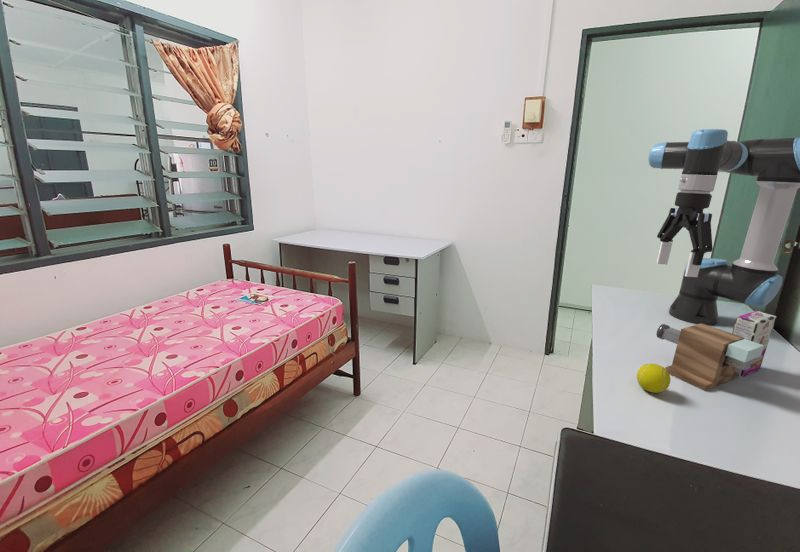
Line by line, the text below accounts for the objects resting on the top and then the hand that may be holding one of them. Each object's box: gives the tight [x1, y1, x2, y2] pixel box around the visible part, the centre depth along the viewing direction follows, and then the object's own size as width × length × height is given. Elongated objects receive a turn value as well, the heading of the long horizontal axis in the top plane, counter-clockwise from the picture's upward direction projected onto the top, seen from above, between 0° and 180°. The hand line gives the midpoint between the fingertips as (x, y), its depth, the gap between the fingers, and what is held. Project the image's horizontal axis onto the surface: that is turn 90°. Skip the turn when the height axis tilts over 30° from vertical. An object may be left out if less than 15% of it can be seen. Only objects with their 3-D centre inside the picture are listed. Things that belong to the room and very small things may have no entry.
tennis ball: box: [636, 362, 671, 394], centre depth 96 cm, size 7×7×7 cm
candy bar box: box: [732, 310, 777, 378], centre depth 107 cm, size 11×5×16 cm, turn 117°
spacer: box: [726, 339, 764, 362], centre depth 96 cm, size 8×4×3 cm, turn 117°
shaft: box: [656, 323, 753, 370], centre depth 105 cm, size 4×21×4 cm, turn 27°
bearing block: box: [664, 323, 744, 391], centre depth 104 cm, size 16×10×12 cm, turn 117°
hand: (675, 270), depth 107 cm, fingers open, 13 cm apart
